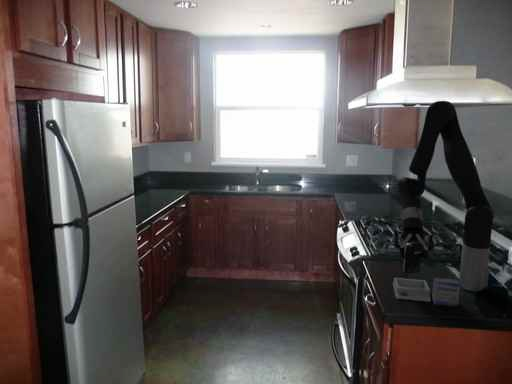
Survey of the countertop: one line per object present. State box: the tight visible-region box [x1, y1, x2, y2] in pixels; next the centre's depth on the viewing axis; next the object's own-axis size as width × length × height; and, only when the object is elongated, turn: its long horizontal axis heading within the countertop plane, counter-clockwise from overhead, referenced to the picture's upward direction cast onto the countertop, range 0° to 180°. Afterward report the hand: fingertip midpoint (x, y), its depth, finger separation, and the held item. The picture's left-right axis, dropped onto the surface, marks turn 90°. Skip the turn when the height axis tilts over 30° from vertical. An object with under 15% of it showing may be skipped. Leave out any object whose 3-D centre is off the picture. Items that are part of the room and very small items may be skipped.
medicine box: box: [431, 277, 461, 307], centre depth 147 cm, size 8×4×9 cm, turn 80°
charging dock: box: [392, 277, 432, 302], centre depth 156 cm, size 12×13×4 cm
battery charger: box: [402, 242, 424, 274], centre depth 153 cm, size 7×4×11 cm, turn 111°
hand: (413, 259), depth 152 cm, fingers closed on battery charger, 7 cm apart
